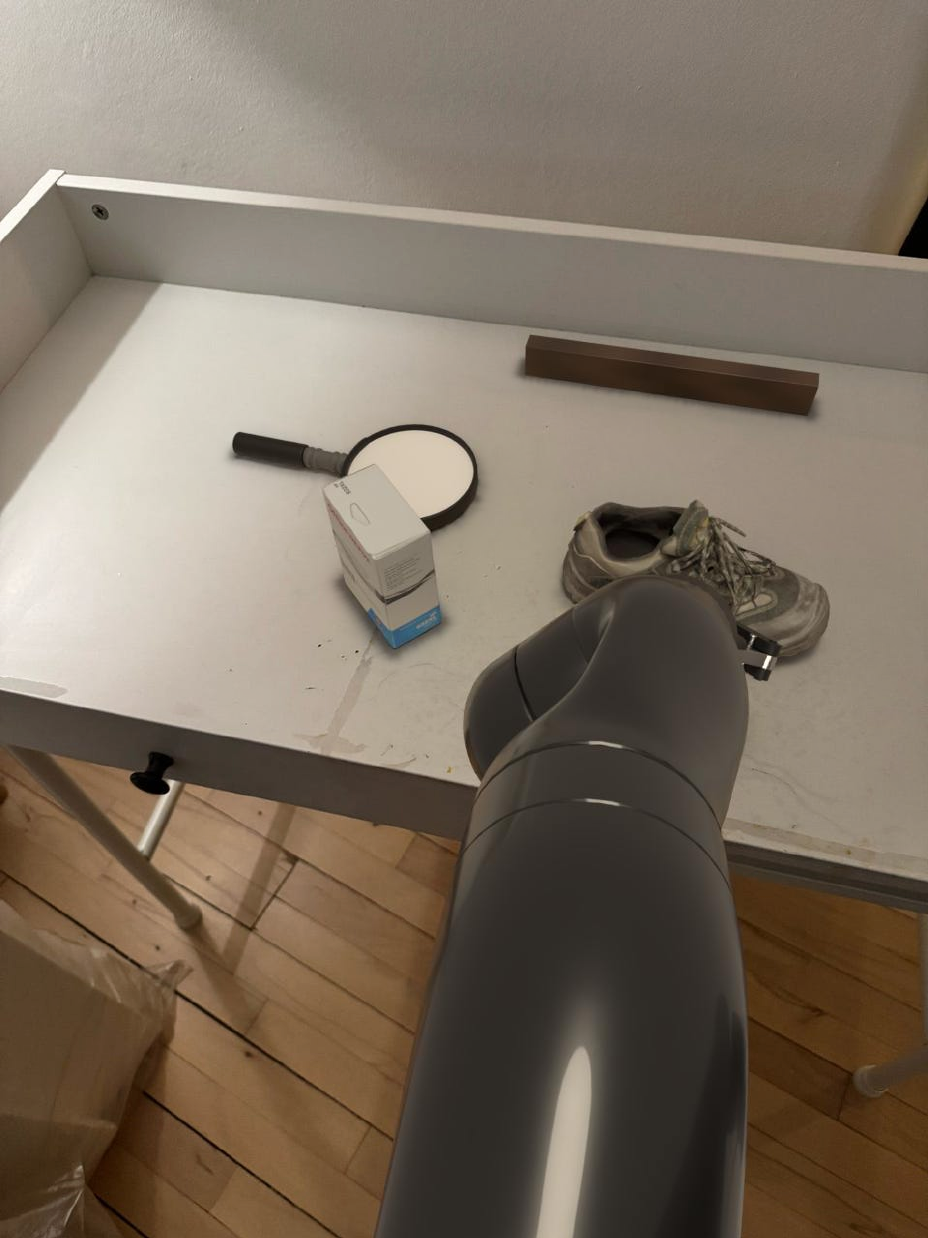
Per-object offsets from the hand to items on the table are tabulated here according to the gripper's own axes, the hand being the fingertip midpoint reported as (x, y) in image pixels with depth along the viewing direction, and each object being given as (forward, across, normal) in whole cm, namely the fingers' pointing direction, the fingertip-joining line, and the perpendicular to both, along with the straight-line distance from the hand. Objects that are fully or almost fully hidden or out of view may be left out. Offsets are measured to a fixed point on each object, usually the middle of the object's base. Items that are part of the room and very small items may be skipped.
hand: (695, 615), depth 62 cm
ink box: (-2, -23, -8) cm, 25 cm away
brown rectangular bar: (+23, -12, +17) cm, 31 cm away
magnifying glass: (+6, -34, 0) cm, 35 cm away
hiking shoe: (+6, -1, -1) cm, 6 cm away
